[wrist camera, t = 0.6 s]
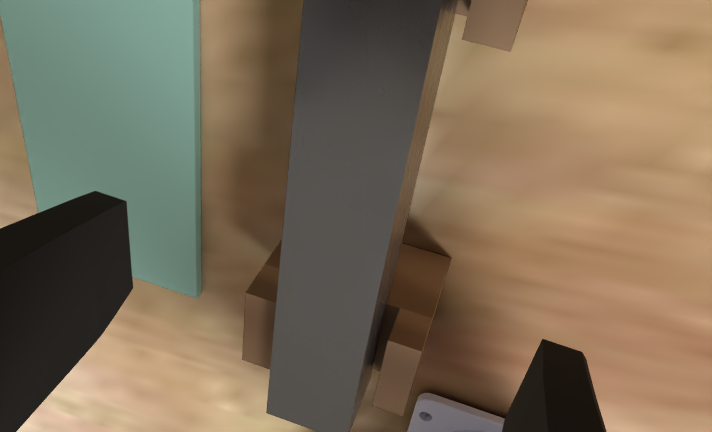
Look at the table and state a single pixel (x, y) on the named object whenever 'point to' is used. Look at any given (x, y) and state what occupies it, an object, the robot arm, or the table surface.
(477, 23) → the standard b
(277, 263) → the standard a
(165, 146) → the mat
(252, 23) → the table surface
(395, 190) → the rail
